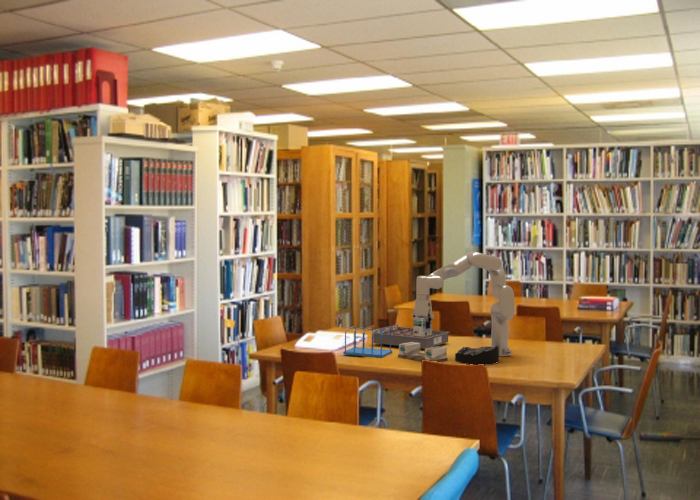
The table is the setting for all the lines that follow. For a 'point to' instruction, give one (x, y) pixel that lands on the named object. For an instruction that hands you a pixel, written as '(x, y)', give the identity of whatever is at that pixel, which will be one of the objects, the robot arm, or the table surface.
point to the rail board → (413, 353)
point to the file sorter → (367, 351)
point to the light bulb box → (421, 327)
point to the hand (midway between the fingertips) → (422, 327)
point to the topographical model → (478, 355)
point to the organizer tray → (409, 337)
